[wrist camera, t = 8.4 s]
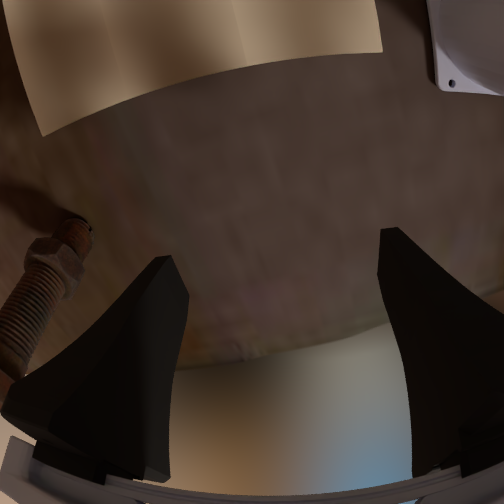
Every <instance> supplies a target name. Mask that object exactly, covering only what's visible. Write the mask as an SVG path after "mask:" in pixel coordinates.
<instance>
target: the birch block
mask: <svg viewBox="0 0 504 504" xmlns="http://www.w3.org/2000/svg"><path fill="white" fill-rule="evenodd" d="M2 1H3V7H4V12H5V17H6V22H7V26H8V30H9V35H10V39H11V43H12V47H13V50H14V54H15V58H16V61H17V65H18V68H19V71H20V75H21V78H22V81H23V84H24V87H25V90H26V93H27V96H28V99H29V102H30V105H31V107H32V110H33V113H34V116H35V118H36V121H37V124H38V126H39V129H40V131H41V134H42V136H43V137H44V136H46V135H48V134H50V133H51V132H53V131H56V130H58V129H60V128H62V127H64V126H66V125H68V124H70V123H72V122H74V121H77V120H79V119H81V118H83V117H86V116H88V115H90V114H92V113H95V112H97V111H100V110H102V109H104V108H107V107H109V106H112V105H115V104H117V103H120V102H122V101H125V100H128V99H131V98H133V97H136V96H139V95H142V94H145V93H148V92H151V91H154V90H157V89H160V88H163V87H166V86H170V85H173V84H176V83H180V82H183V81H187V80H190V79H194V78H198V77H202V76H206V75H210V74H214V73H218V72H222V71H227V70H231V69H236V68H241V67H246V66H251V65H256V64H262V63H268V62H274V61H281V60H287V59H295V58H303V57H312V56H322V55H334V54H349V53H376V52H383V50H382V43H381V36H380V30H379V24H378V18H377V12H376V7H375V2H374V0H2Z"/></svg>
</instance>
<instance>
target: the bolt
mask: <svg viewBox="0 0 504 504" xmlns="http://www.w3.org/2000/svg"><path fill="white" fill-rule="evenodd" d="M89 228H90V227H89V225H88V224H87V223H85V222H84V221H83V220H80V219H77V218H71V219H68V220H66V221H64V222H63V223H62V224H61V225H60V226H59V228H58V229H57V231H55V233H54V234H53V236H52V237H51V238H50V237H44V238H36V239H35V241H34V242H33V243H32V244H31V246H30V247H29V248H28V251H27V253H26V256H25V260H24V269H25V273H24V274H23V276H22V277H21V279H20V281H19V282H18V284H17V285H16V287H15V288H14V290H13V291H12V293H11V294H10V295H9V298H8V299H7V300H6V302H5V303H4V306H3V307H2V308H1V310H0V410H1V407H2V405H3V402H4V400H5V397H6V395H7V392H8V390H9V388H10V386H11V384H12V383H14V382H16V381H18V380H20V379H21V378H23V377H24V376H25V374H26V371H27V369H28V368H27V366H28V363H29V361H30V359H29V358H31V357H32V354H33V353H34V350H35V349H36V345H38V341H39V340H40V337H41V336H42V333H43V332H44V329H45V328H46V326H47V324H48V321H50V319H51V317H52V315H53V312H54V311H55V309H56V307H57V305H58V304H59V302H60V300H71V299H72V297H73V295H74V293H75V292H76V290H77V288H78V286H79V284H80V282H81V279H82V277H83V275H84V272H85V270H84V267H83V265H82V262H83V261H84V259H85V258H86V256H87V255H88V253H89V251H90V250H91V248H92V245H93V244H94V241H93V239H94V238H95V237H94V233H93V231H91V232H90V231H89Z"/></svg>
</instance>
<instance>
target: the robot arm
mask: <svg viewBox="0 0 504 504" xmlns="http://www.w3.org/2000/svg"><path fill="white" fill-rule="evenodd" d="M426 2H427V8H428V14H429V21H430V28H431V36H432V44H433V55H434V67H435V82H436V86H437V87H438V88H439V89H440V90H443V91H454V92H471V93H483V94H493V95H502V96H504V0H426ZM449 80H452V85H451V86H449V84H448V83H449ZM377 276H378V280H379V285H380V289H381V294H382V298H383V302H384V305H385V308H386V311H387V313H388V316H389V319H390V322H391V325H392V328H393V331H394V335H395V338H396V341H397V344H398V347H399V350H400V353H401V358H402V362H403V366H404V372H405V378H406V384H407V391H408V398H409V408H410V418H411V432H412V477H413V479H409V480H404V481H400V482H396V483H391V484H386V485H381V486H376V487H370V488H364V489H357V490H350V491H342V492H333V493H324V494H311V495H295V496H294V495H292V496H247V495H227V494H214V493H205V492H196V491H188V490H181V489H174V488H168V487H161V486H156V485H152V484H146V483H142V482H137V481H133V479H138V480H143V479H144V480H149V481H154V482H160V483H164V482H166V481H167V480H169V479H170V477H171V476H170V464H169V463H170V462H169V418H170V417H169V416H170V403H171V391H172V383H173V377H174V372H175V367H176V363H177V359H178V355H179V351H180V346H181V342H182V338H183V334H184V330H185V326H186V321H187V314H188V305H189V293H188V291H187V289H186V287H185V285H184V283H183V281H182V278H181V276H180V274H179V272H178V270H177V267H176V265H175V263H174V261H173V259H172V256H171V255H168V256H160V257H156V258H154V259H153V260H152V261H151V262H150V263H149V264H148V265H147V267H146V268H145V269H144V270H143V271H142V272H141V273H140V274H139V275H138V276H137V278H136V279H135V280H134V281H133V282H132V283H131V284H130V285H129V287H128V288H127V289H126V290H125V291H124V292H123V293H122V294H121V296H120V297H119V298H118V299H117V300H116V301H115V302H114V303H113V304H112V305H111V306H110V307H109V308H108V310H107V311H106V312H105V313H104V314H103V315H102V316H101V317H100V318H99V319H98V320H97V321H96V322H95V323H94V324H93V325H92V326H91V327H90V328H89V329H88V330H87V331H85V332H84V333H83V334H82V335H81V336H80V337H79V338H78V339H77V340H75V341H74V342H73V343H72V344H70V345H69V346H68V347H67V348H65V349H64V350H63V351H62V352H61V353H59V354H58V355H57V356H55V357H54V358H53V359H51V360H50V361H48V362H47V363H46V364H44V365H43V366H41V367H40V368H38V369H37V370H35V371H33V372H32V373H30V374H28V375H27V376H25V377H23V378H21V379H20V380H18V381H16V382H14V383H12V384H11V386H10V388H9V390H8V392H7V395H6V397H5V400H4V402H3V405H2V407H1V410H0V413H1V415H2V417H3V418H4V419H6V420H7V421H8V422H9V423H11V424H12V425H14V426H15V427H17V428H18V429H20V430H21V431H23V432H25V433H26V434H27V435H29V436H30V437H32V438H34V439H35V440H37V442H36V445H35V446H34V445H32V444H29V443H27V442H25V441H23V440H21V439H19V438H17V437H15V436H11V437H10V440H9V443H8V446H7V449H6V453H5V456H4V460H3V464H2V467H1V470H0V491H2V492H4V493H5V494H6V495H8V496H9V497H10V498H12V499H13V500H15V501H16V502H17V503H19V504H146V503H149V504H398V503H403V502H407V501H411V500H415V499H418V500H417V501H416V502H415V504H504V314H502V313H501V312H499V311H498V310H496V309H495V308H493V307H492V306H490V305H489V304H487V303H486V302H484V301H483V300H482V299H480V298H479V297H478V296H476V295H475V294H474V293H472V292H471V291H470V290H468V289H467V288H466V287H464V286H463V285H462V284H461V283H459V282H458V281H457V280H456V279H455V278H454V277H452V276H451V275H450V274H449V273H448V272H446V271H445V270H444V269H443V268H442V267H441V266H440V265H438V264H437V263H436V262H435V261H434V260H433V259H432V258H431V257H430V256H429V255H427V254H426V253H425V252H424V251H423V250H422V249H421V248H420V247H419V246H418V245H417V244H416V243H414V242H413V241H412V240H411V239H410V238H409V237H408V236H407V235H406V234H405V233H404V232H403V231H401V230H400V229H399V228H398V227H394V228H386V229H381V231H380V247H379V260H378V272H377ZM419 498H420V499H419ZM144 502H145V503H144Z"/></svg>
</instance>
